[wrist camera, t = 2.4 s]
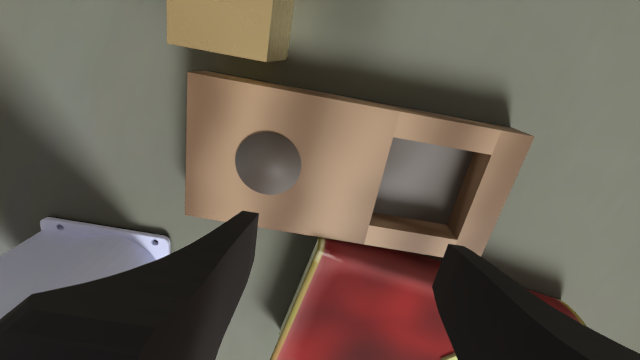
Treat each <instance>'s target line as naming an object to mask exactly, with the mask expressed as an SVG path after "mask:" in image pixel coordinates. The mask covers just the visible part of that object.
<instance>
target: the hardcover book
mask: <svg viewBox="0 0 640 360" xmlns="http://www.w3.org/2000/svg"><path fill="white" fill-rule="evenodd" d="M441 262H442V261H440V260H437V259H434V258H431V257H428V256H425V255H422V254H419V253H413V252H407V251H401V250H395V249H389V248H383V247H377V246H371V245H364V244H358V243H352V242H346V241H340V240H334V239H328V238H322V237H318V241H317V243H316V245H315V248H314V250H313V252H312V255H311V257H310V260H309V262H308V264H307V267H306V269H305V271H304V274H303V276H302V279H301V281H300V283H299V286H298V288H297V290H296V293H295V295H294V298H293V300H292V302H291V305H290V307H289V309H288V312H287V314H286V317H285V319H284V321H283V324H282V326H281V328H280V333H279V339H278V342H277V344H276V347H275V349H274V351H273V354H272V356H271V359H270V360H458V359H457V357H456V354H455V352H454V349H453V347H452V344H451V342H450V340H449V337H448V335H447V332H446V330H445V327H444V325H443V322H442V320H441V317H440V315H439V312H438V309H437V305H436V302H435V297H434V293H433V289H432V285H433V282H434V280H435V277H436V275H437V272H438V269H439V267H440V264H441ZM527 290H528V289H527ZM528 291H529V292H531V293H533V294H534V295H536V296H537V297H539V298H540V299H542V300H543V301H545V302H546V303H548V304H549V305H551V306H552V307H554V308H556V309H557V310H559V311H561V312H562V313H564V314H566V315H567V316H569V317H571V318H572V319H574V320H576V321H578V322H579V323H581V324H583V325H585V323H584V322H583V321H582V319H581V318H580V317H579V316H578V315H577V314H576V312H574V311H573V310H572V309H571V308H570V307H569V306H568V305H567V304H565V303H564V302H563V301H561V300H559V299H556V298H553V297H550V296H547V295H544V294H541V293H538V292H535V291H531V290H528ZM585 326H586V325H585ZM586 327H587V326H586Z"/></svg>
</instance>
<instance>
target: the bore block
mask: <svg viewBox="0 0 640 360" xmlns="http://www.w3.org/2000/svg"><path fill="white" fill-rule="evenodd" d="M533 139H534V136H532V135H529V134H527V133H524V132H521V131H519V130H516V129H514V128H511V127H506V126H501V125H496V124H490V123H485V122H480V121H474V120H469V119H464V118H458V117H453V116H447V115H442V114H437V113H431V112H426V111H421V110H415V109H410V108H405V107H399V106H394V105H389V104H383V103H378V102H372V101H367V100H362V99H356V98H351V97H346V96H340V95H335V94H330V93H324V92H319V91H314V90H308V89H303V88H297V87H292V86H287V85H281V84H276V83H271V82H265V81H260V80H255V79H249V78H244V77H239V76H233V75H228V74H222V73H217V72H212V71H206V70H201V71H192V72H187V127H186V184H185V215H188V216H194V217H200V218H207V219H213V220H219V221H225V222H227V221H228V220H229V219H231V218H232V217H234V216H235V215H237V214H238V213H240V212H241V211H249V212H255V213H259V218H258V227H261V228H267V229H273V230H279V231H285V232H292V233H298V234H304V235H310V236H316V237H322V238H328V239H334V240H340V241H346V242H352V243H358V244H364V245H371V246H377V247H383V248H389V249H395V250H401V251H407V252H413V253H419V254H425V255H431V256H437V257H443V256H444V254H445V251H446V249H447V246H448V244H453V245H460V246H465V247H466V248H468V249H470V250H471V251H473V252H475V253H476V254H477V255H479V256H480V257H481V255H482V253H483V251H484V249H485V246H486V244H487V242H488V240H489V238H490V235H491V233H492V231H493V229H494V226H495V224H496V222H497V220H498V217H499V215H500V213H501V211H502V208H503V206H504V204H505V202H506V199H507V197H508V195H509V193H510V190H511V188H512V186H513V184H514V181H515V179H516V177H517V175H518V173H519V170H520V168H521V166H522V164H523V161H524V159H525V157H526V155H527V152H528V150H529V148H530V146H531V143H532V141H533Z"/></svg>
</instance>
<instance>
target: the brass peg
mask: <svg viewBox="0 0 640 360" xmlns="http://www.w3.org/2000/svg"><path fill="white" fill-rule="evenodd" d="M294 1H295V0H167V43H168V44H173V45H178V46H183V47H189V48H194V49H199V50H205V51H210V52H215V53H220V54H226V55H231V56H236V57H242V58H247V59H252V60H257V61H263V62H272V61H281V60H287V55H288V47H289V39H290V32H291V24H292V16H293V8H294Z"/></svg>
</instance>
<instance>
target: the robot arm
mask: <svg viewBox="0 0 640 360" xmlns="http://www.w3.org/2000/svg"><path fill="white" fill-rule="evenodd" d="M258 218H259V213H255V212H249V211H241V212H240V213H238V214H237V215H235V216H234V217H232V218H231V219H229V220H228V221H227V222H225V223H224V224H222V225H221V226H219V227H218V228H216V229H215V230H213V231H212V232H210V233H209V234H207V235H205V236H203V237H202V238H200V239H198V240H197V241H195V242H193V243H191V244H190V245H188V246H186V247H184V248H182V249H180V250H178V251H176V252H174V253H171V254H170V239H169V238H168V237H166V236H164V235H157V234H151V233H145V232H139V231H133V230H126V229H120V228H114V227H108V226H102V225H95V224H89V223H83V222H77V221H70V220H64V219H58V218H52V217H46V218H44V219H42V220H41V221H40V227H41V231H40V232H39V233H37V234H35V235H34V236H32V237H30V238H29V239H27V240H25V241H24V242H22V243H21V244H19V245H17V246H16V247H14V248H12V249H11V250H9V251H8V252H6V253H4V254H3V255H1V256H0V360H215V359H216V356H217V353H218V349H219V347H220V344H221V342H222V339H223V337H224V334H225V332H226V330H227V327H228V325H229V323H230V321H231V318H232V316H233V314H234V311H235V309H236V307H237V305H238V302H239V300H240V298H241V295H242V293H243V291H244V289H245V286H246V284H247V281H248V278H249V275H250V271H251V268H252V265H253V261H254V256H255V246H256V237H257V227H258ZM61 225H62V226H63V227H62V226H61ZM154 240H157V241H158V243H157V242H155V241H154ZM432 289H433V293H434V297H435V302H436V305H437V309H438V312H439V315H440V317H441V320H442V322H443V325H444V327H445V330H446V332H447V335H448V337H449V340H450V342H451V344H452V347H453V349H454V352H455V354H456V357H457V359H458V360H640V354H639V353H637V352H635V351H633V350H631V349H629V348H627V347H625V346H623V345H621V344H619V343H617V342H615V341H613V340H611V339H609V338H607V337H605V336H603V335H601V334H599V333H597V332H595V331H594V330H592V329H590V328H588V327H586V326H585V325H583V324H581V323H579V322H578V321H576V320H574V319H572V318H571V317H569V316H567V315H566V314H564V313H562V312H561V311H559V310H557V309H556V308H554V307H552V306H551V305H549V304H548V303H546V302H545V301H543V300H542V299H540V298H539V297H537V296H536V295H534V294H533V293H531V292H529V291H528V290H527V289H525V288H524V287H522V286H521V285H519V284H518V283H517V282H515V281H514V280H512V279H511V278H509V277H508V276H507V275H505V274H504V273H503V272H501V271H500V270H498V269H497V268H496V267H494V266H493V265H492V264H490V263H489V262H487V261H486V260H485V259H483V258H482V257H480V256H479V255H477V254H476V253H475V252H473V251H471V250H470V249H468V248H466V247H465V246H460V245H453V244H448V246H447V249H446V251H445V254H444V256H443V259H442V262H441V264H440V267H439V269H438V272H437V275H436V277H435V280H434V282H433V285H432Z"/></svg>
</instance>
